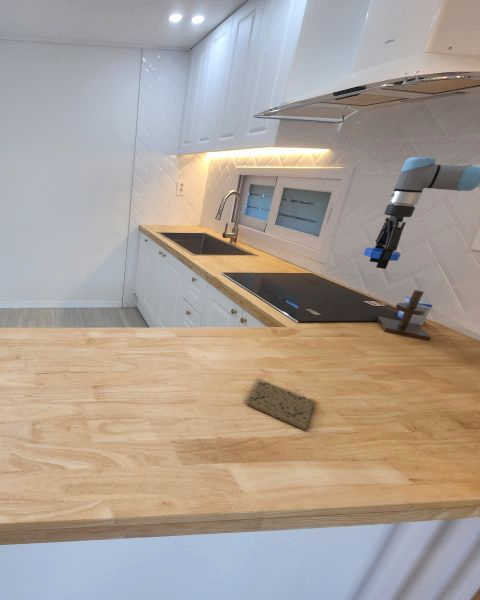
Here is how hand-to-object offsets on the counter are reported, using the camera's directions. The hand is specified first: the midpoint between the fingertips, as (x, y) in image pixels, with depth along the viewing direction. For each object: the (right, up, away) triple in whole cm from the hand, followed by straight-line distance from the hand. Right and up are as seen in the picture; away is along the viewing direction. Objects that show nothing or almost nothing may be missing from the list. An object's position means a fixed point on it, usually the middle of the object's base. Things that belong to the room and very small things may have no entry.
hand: (377, 264), depth 128 cm
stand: (+3, -24, -6) cm, 25 cm away
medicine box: (+14, -22, +2) cm, 26 cm away
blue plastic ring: (0, +3, -1) cm, 3 cm away
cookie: (-67, -38, -50) cm, 92 cm away
